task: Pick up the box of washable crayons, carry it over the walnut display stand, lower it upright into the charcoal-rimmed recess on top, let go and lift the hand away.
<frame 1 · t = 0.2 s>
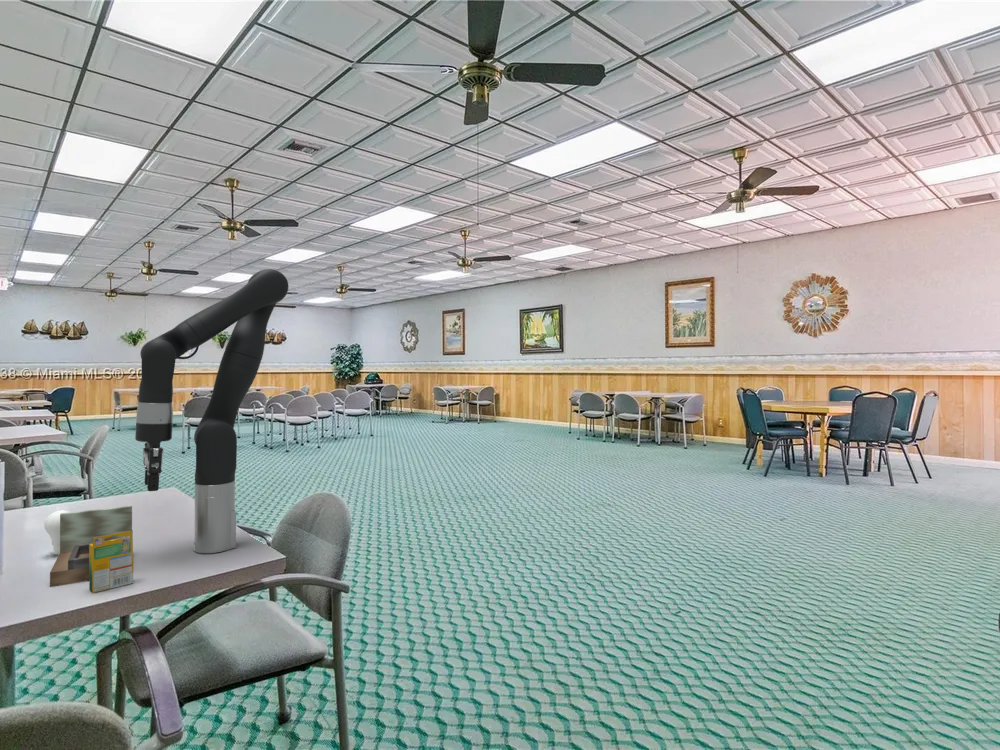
hand: (151, 487, 132), 17 cm above the table, tool pointing down, fingers open, 8 cm apart
display stand: (94, 568, 126), on the table
crayon box: (111, 587, 116), on the table
lightbulb: (60, 555, 135), on the table
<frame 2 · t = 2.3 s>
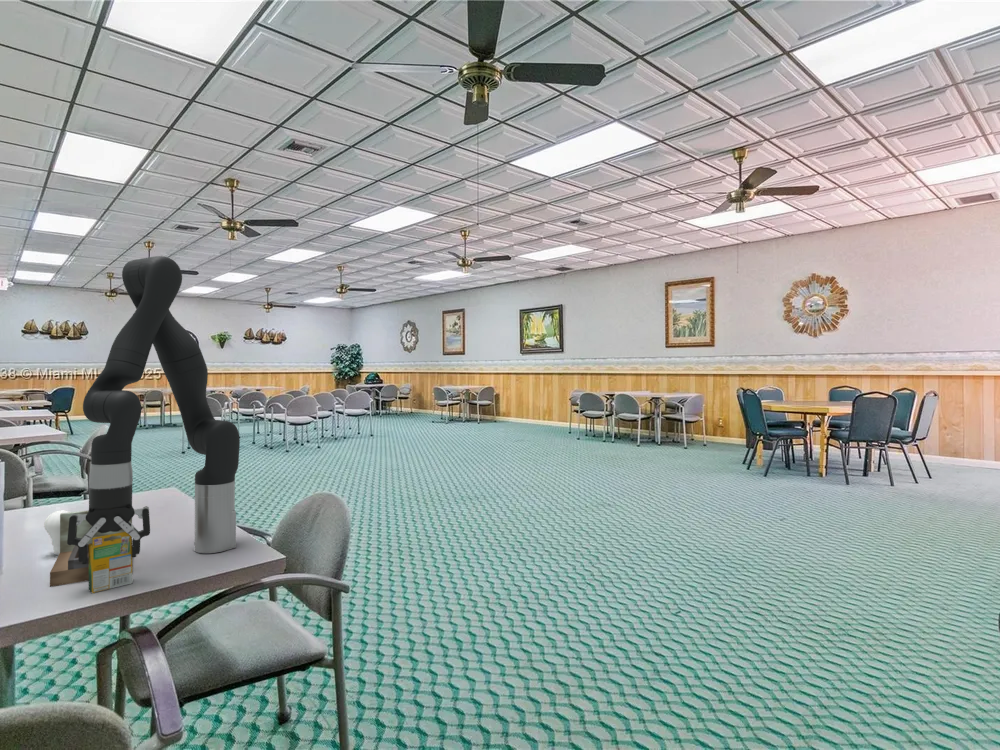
hand: (109, 559, 116), 6 cm above the table, tool pointing down, fingers open, 8 cm apart
crayon box: (110, 587, 116), on the table, touching gripper
everything else where it was.
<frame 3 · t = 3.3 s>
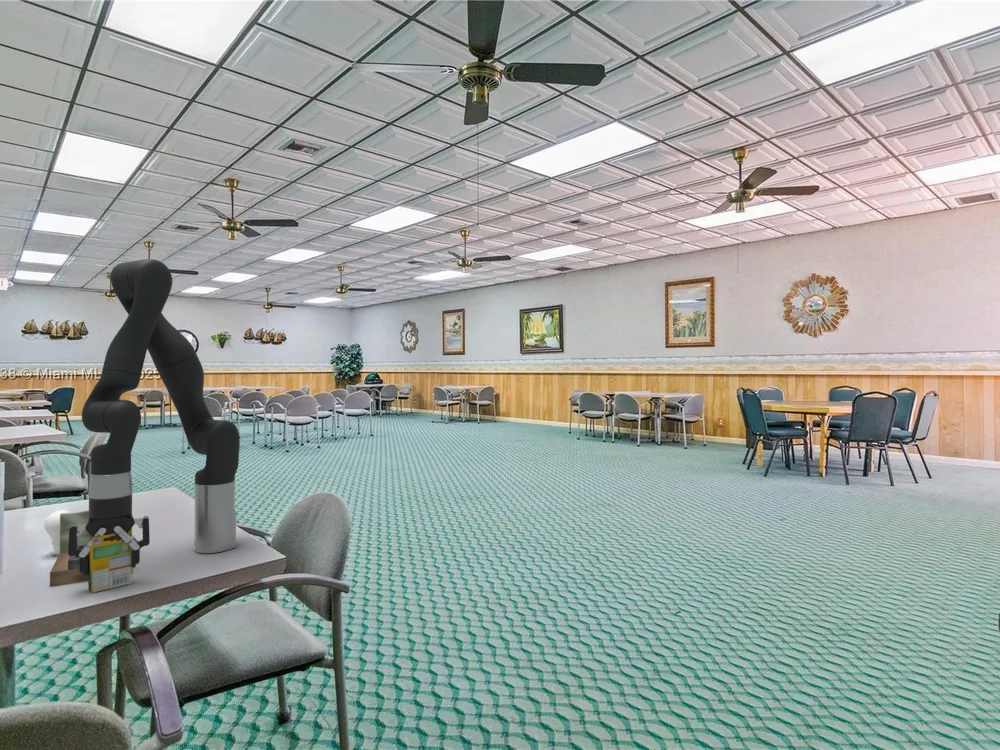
hand: (110, 570, 116), 4 cm above the table, tool pointing down, fingers closed on crayon box, 8 cm apart
crayon box: (110, 587, 116), on the table, touching gripper
everything else where it was.
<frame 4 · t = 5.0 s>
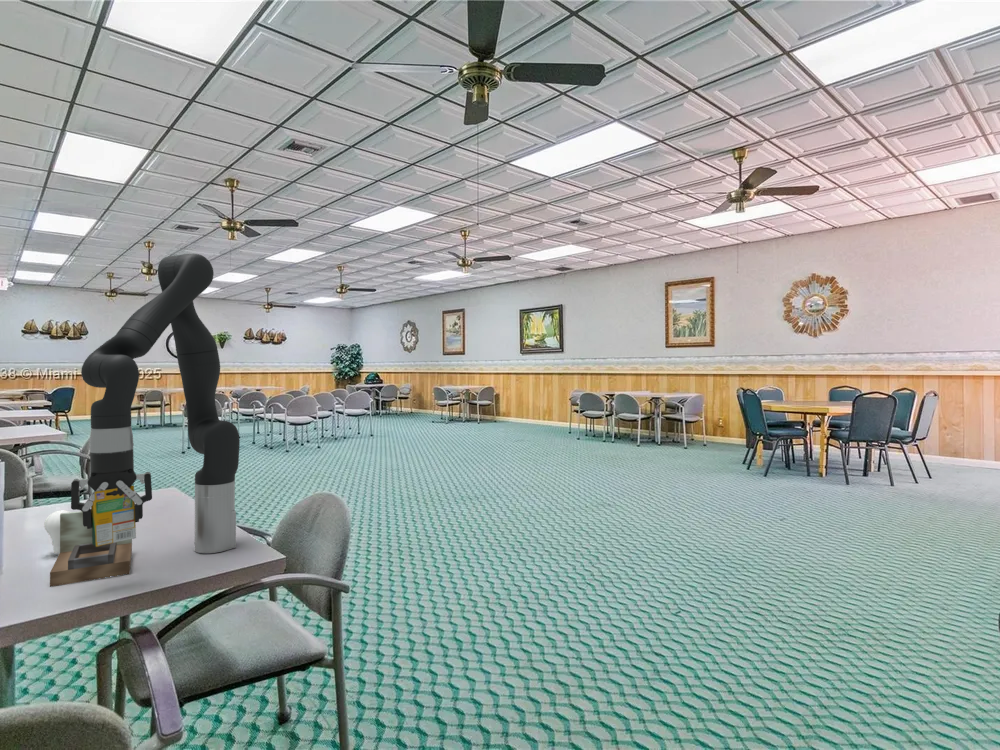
hand: (113, 524, 116), 13 cm above the table, tool pointing down, fingers closed on crayon box, 8 cm apart
crayon box: (114, 542, 116), point 9 cm above the table, touching gripper
everything else where it was.
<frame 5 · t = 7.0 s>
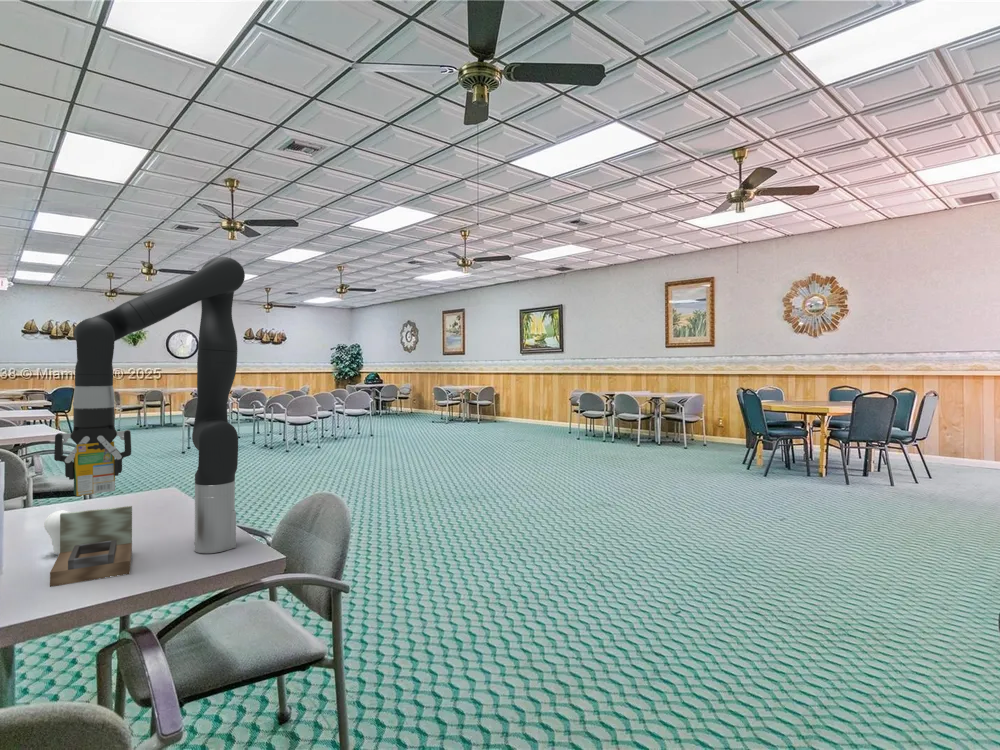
hand: (94, 477, 124), 22 cm above the table, tool pointing down, fingers closed on crayon box, 8 cm apart
crayon box: (94, 493, 124), point 18 cm above the table, touching gripper
everything else where it was.
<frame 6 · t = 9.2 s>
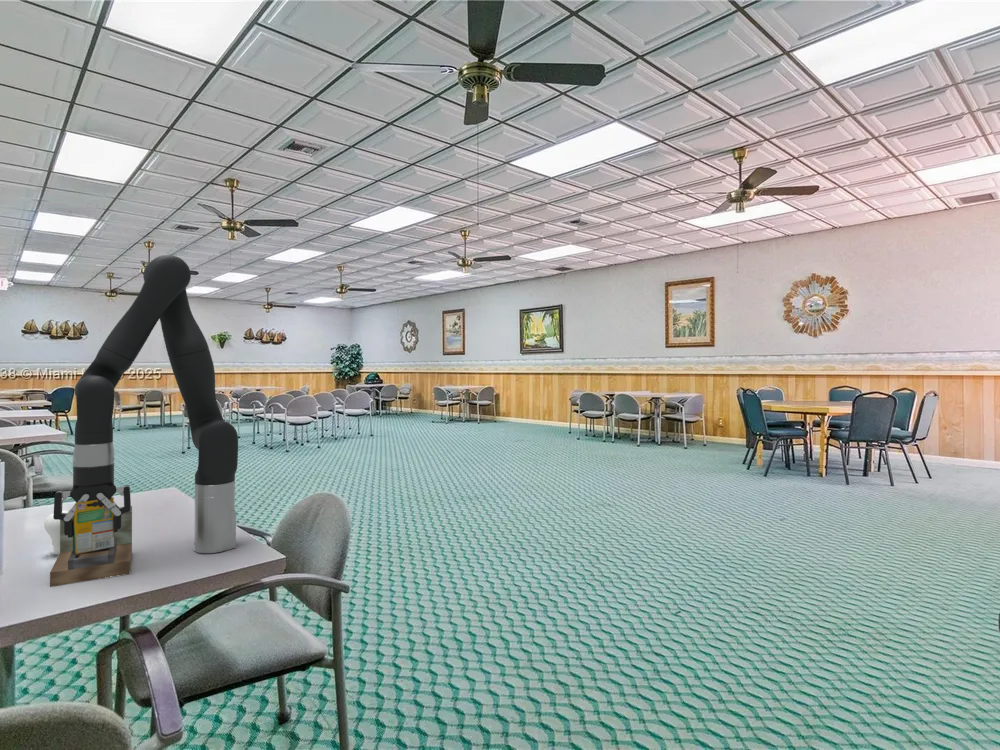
hand: (93, 534, 124), 9 cm above the table, tool pointing down, fingers closed on crayon box, 8 cm apart
crayon box: (93, 550, 124), point 5 cm above the table, touching display stand, gripper
everything else where it was.
when the fingers open (8 cm above the table, at t = 10.6 s): crayon box stays where it is, resting on display stand.
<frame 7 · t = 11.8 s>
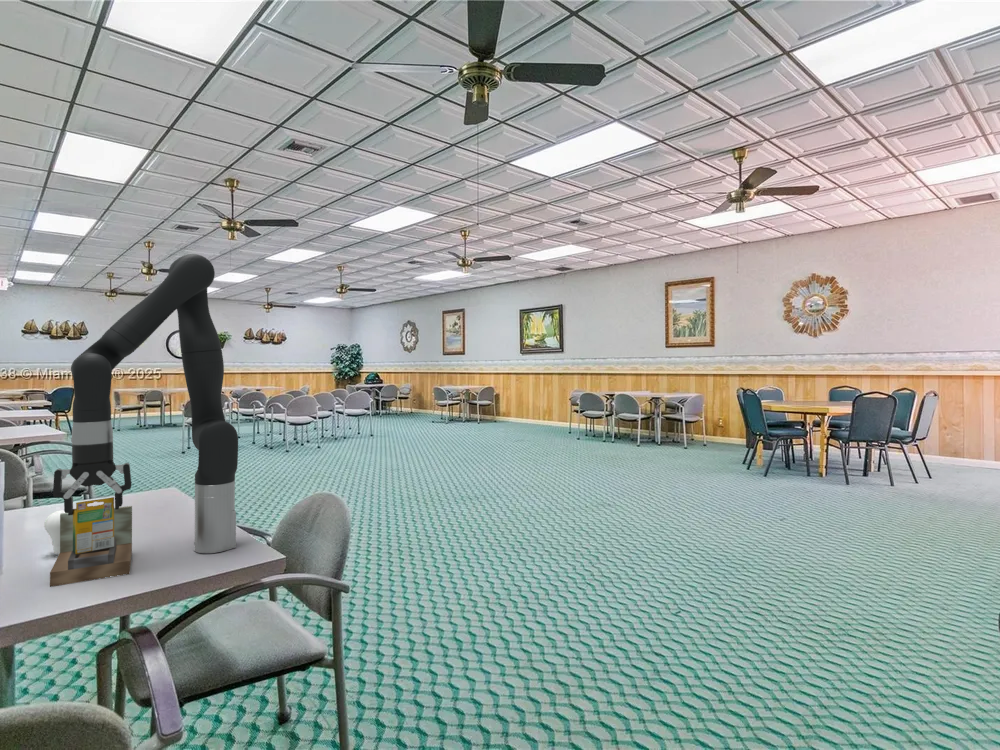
hand: (94, 511, 124), 14 cm above the table, tool pointing down, fingers open, 8 cm apart
crayon box: (93, 550, 124), point 5 cm above the table, touching display stand
everything else where it was.
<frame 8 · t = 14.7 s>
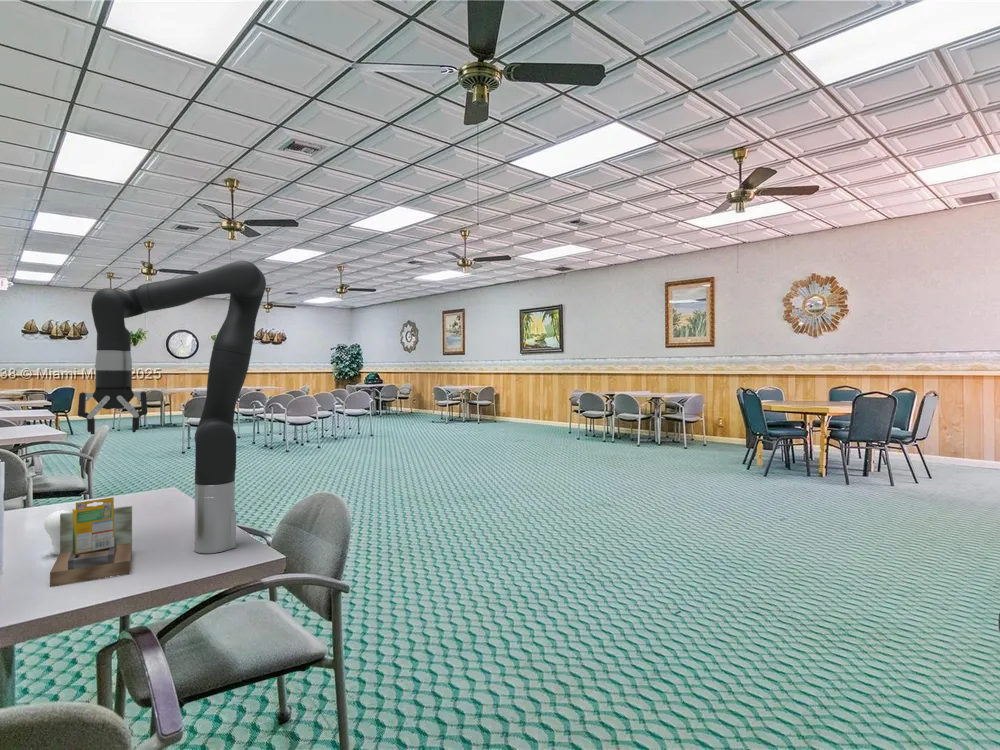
hand: (113, 433, 137), 30 cm above the table, tool pointing down, fingers open, 8 cm apart
nothing on the table moved.
at the end: crayon box 0.1 cm from the target spot on the display stand, point 4.8 cm above the display stand's base; crayon box tilted 0°; the gripper is holding nothing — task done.
